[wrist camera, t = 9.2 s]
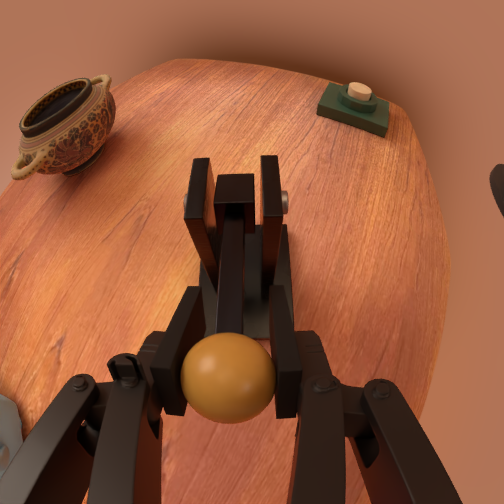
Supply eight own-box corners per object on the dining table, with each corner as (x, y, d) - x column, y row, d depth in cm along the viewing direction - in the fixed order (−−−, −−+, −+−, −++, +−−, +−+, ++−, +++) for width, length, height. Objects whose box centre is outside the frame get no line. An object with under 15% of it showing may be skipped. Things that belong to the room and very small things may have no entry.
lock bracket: (293, 339, 25) (334, 288, 12) (198, 340, 25) (134, 290, 12) (285, 229, 30) (302, 119, 17) (205, 231, 30) (173, 124, 17)
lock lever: (275, 426, 10) (282, 419, 7) (190, 424, 10) (163, 414, 7) (265, 210, 18) (265, 164, 15) (211, 211, 18) (204, 166, 15)
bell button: (370, 95, 38) (372, 87, 37) (368, 104, 37) (371, 96, 35) (348, 87, 39) (350, 80, 38) (345, 96, 37) (347, 88, 36)
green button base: (386, 110, 42) (391, 94, 38) (384, 137, 38) (391, 119, 34) (327, 91, 44) (330, 74, 41) (316, 114, 40) (319, 95, 37)
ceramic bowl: (73, 231, 34) (33, 170, 21) (11, 198, 33) (-26, 146, 19) (149, 124, 45) (147, 58, 31) (84, 108, 43) (73, 52, 30)
